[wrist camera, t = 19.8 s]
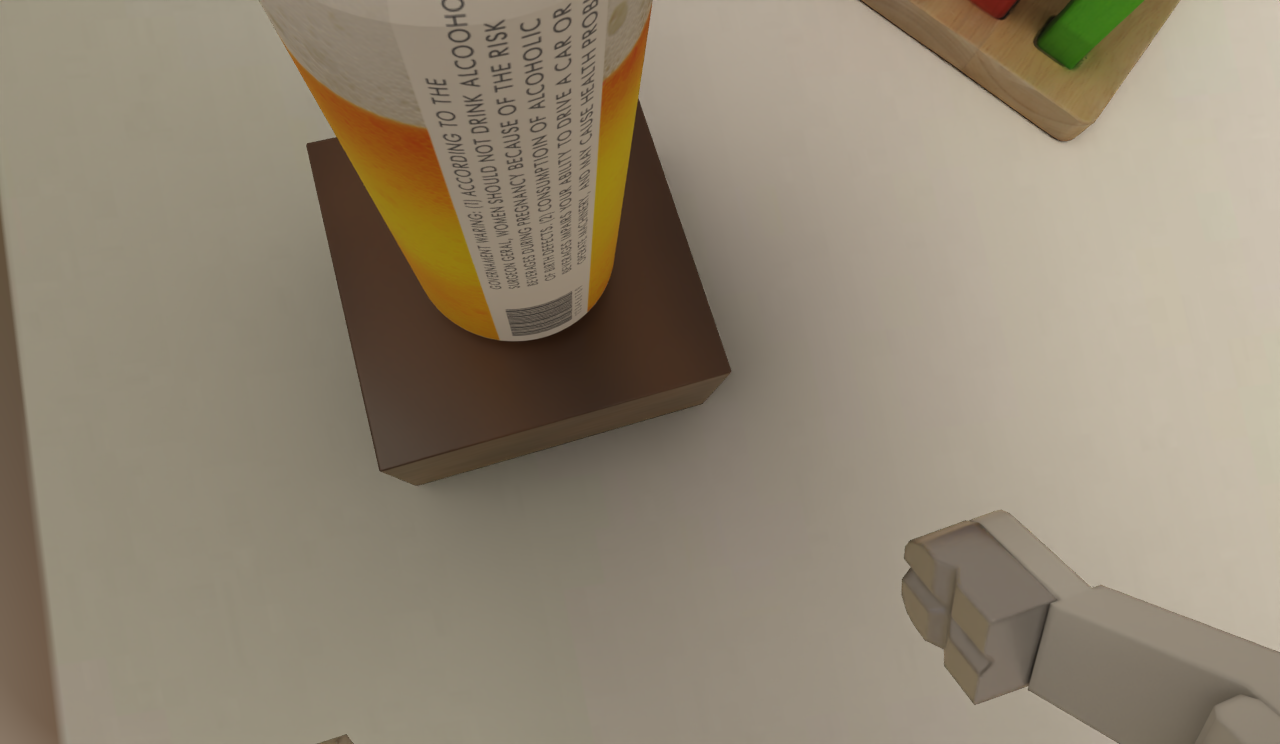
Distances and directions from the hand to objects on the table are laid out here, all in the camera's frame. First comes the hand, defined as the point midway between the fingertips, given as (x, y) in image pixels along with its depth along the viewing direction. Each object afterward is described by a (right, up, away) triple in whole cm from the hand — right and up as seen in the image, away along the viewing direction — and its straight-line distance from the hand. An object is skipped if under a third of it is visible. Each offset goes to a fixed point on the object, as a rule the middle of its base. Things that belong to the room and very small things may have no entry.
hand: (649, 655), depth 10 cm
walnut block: (-5, +6, +17) cm, 19 cm away
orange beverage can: (-4, +8, +13) cm, 15 cm away
